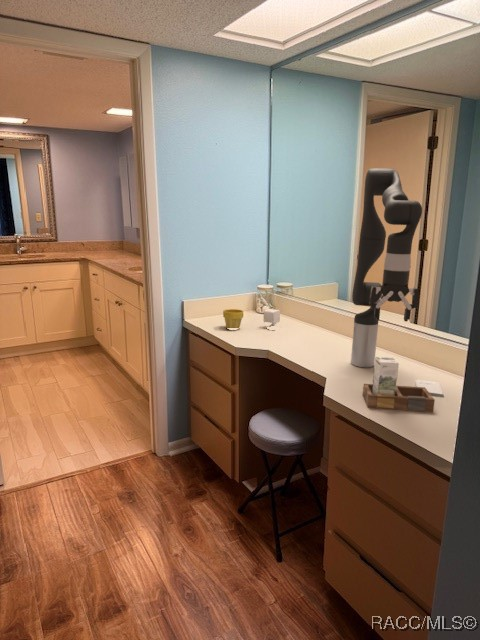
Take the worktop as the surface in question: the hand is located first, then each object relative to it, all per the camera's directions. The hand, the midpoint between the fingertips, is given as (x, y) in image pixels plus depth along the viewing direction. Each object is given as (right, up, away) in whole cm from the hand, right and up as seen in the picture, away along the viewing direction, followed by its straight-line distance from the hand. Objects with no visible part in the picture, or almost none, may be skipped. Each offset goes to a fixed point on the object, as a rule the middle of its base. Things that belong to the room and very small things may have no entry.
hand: (391, 320), depth 141 cm
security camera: (-30, -5, +96) cm, 101 cm away
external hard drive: (+19, -25, +17) cm, 35 cm away
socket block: (+3, -26, +3) cm, 27 cm away
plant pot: (-51, -5, +94) cm, 107 cm away
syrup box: (-2, -26, +4) cm, 27 cm away
